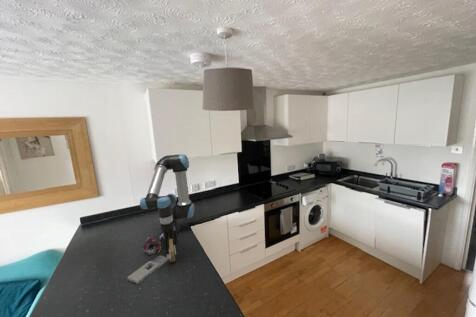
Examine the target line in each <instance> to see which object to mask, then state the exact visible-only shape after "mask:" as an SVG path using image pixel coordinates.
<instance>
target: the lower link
mask: <svg viewBox="0 0 476 317" xmlns="http://www.w3.org/2000/svg"><path fill="white" fill-rule="evenodd" d="M151 261H152V262H155V263H158V264H160V266H159V267H157V268H156V269H155V270H154V271H152V272H151V273H150V274H149V276H151V275H152V274H154V273H155V272H156V271H157V270H158V269H159V268H160V267H162V266H163V265H165V263H167V262H168V261H169V258H167V256H163V255H160V254H159V255H158V256H156V257H155V258H153V259H152V260H151ZM153 266H154V265H151V264H150V265H149V266H147V267H146V268H145V269H147V270H148V268H150V267H153Z"/></svg>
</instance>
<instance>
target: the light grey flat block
mask: <svg viewBox="0 0 476 317" xmlns="http://www.w3.org/2000/svg"><path fill="white" fill-rule="evenodd" d="M150 264H151V265H154V266H151V268H149V269H148V268H147V269H145V268H146V267H147V266H149V265H150ZM159 266H160V264H158V263H155V262H152V260H148V261H147V262H146V263H145V264H143V265H142V266H140V267H139V268H138V269H137V270H135V271H134V272H132V273H131V274H130V275H128V276H127V277H126V279H127V281H129V282H131V283H133V284H135V285H140V284H141V283H142V282H143V281H144V280H146V279H147V278H149V277H150V275H149V274H150V273H151V272H152V271H154V270H155V269H156V268H157V267H159ZM149 267H150V266H149ZM159 268H160V267H159ZM154 272H155V271H154Z"/></svg>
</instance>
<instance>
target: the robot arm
mask: <svg viewBox="0 0 476 317" xmlns="http://www.w3.org/2000/svg"><path fill="white" fill-rule="evenodd" d="M189 168H190V161H189V157H188V156H187V155H186V154H181V153H180V154H171V155H165V156H163V157H161V158H160V159H159V160H158V161H157V162H156V164H155V166H154V169H153V170H154V174H153V176H152V178H151V182H150V185H149V188H148V191H147V194H146V197H142V198H140V201H139V206H140V208H141V209H142V210H149V209H151V210H152V209H157V210H158V211H157V212H158V215H159V216H158V217H159V222H160V230H161V235H159V236H158V239H159V241H160V242H159V243H160V246H161V250H162V251H165V255H166V257H167V258H169V259H171V252H170V249H169V237H171V238H172V240H173V247H174V253H175V256H176V255H177V250H176V248H177V246H176V245H178V244H177V243H178V233H179V232H180V231H181V225H180V223H179V220H185V219H191V218H193V216H194V212H195V203H193V202H192V200H190V195H189V187H188V178H187V172H188V169H189ZM170 170H172V173H174V175H175V176H174V177H175V182H176V191H177V196H176V194H174V193H168V194H167V195H161V196H159V195H160V192H161V189H162V185H163V182H164V179H165V175H166V173H168V171H170ZM177 200H178V202H177ZM176 202H177V204H176Z"/></svg>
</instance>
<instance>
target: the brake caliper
mask: <svg viewBox="0 0 476 317" xmlns="http://www.w3.org/2000/svg"><path fill="white" fill-rule="evenodd" d="M142 248H143V251H144V253H146V255H147V256H151V255H152V256H153V255H155V254H156V253H157V254H159V253H160V251H161V250H162V246H161V242H159V241H158V240H156V239H155V238H153V237H152V236H150V237H148V236H147V239H146V241H145V242H144V244H143V246H142Z"/></svg>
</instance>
